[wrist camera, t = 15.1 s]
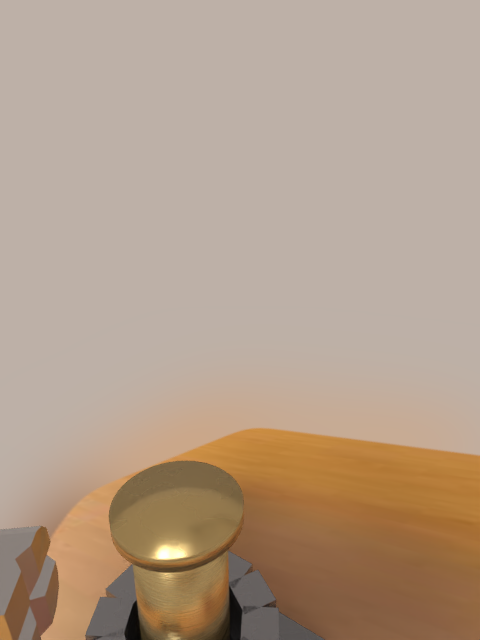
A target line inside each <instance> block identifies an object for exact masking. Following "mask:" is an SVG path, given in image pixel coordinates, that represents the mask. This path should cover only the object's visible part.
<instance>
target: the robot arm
mask: <svg viewBox="0 0 480 640" xmlns="http://www.w3.org/2000/svg"><path fill="white" fill-rule="evenodd" d="M49 546H50V539H49V535H48V532H47V529H46V527H43V526H36V527H24V528H12V529H1V530H0V640H41V637H40V636H41V635H42V634H43V633H44V632H45V631H46V630H47V628H48V627H49V626H50V625H51V624H52V622H53V618H54V614H55V611H56V607H57V599H58V589H59V581H58V570H57V566H56V562H55V561H54V560H53V559H51V558H50V557H49V556H47V552H48V549H49Z"/></svg>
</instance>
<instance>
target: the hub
mask: <svg viewBox="0 0 480 640" xmlns="http://www.w3.org/2000/svg"><path fill="white" fill-rule="evenodd" d="M228 565H229V613H230V640H325V639H323V638H321V637H320V636H318V635H316V634H315V633H313V632H311V631H310V630H308V629H306V628H305V627H303V626H301V625H300V624H298V623H296V622H295V621H293V620H291V619H290V618H288V617H287V616H285V615H283V614H282V613H280V612H279V608H276V598H275V597H274V595H273V594H272V592H271V590H270V589H269V587H268V585H267V584H266V582H265V580H264V579H263V577H262V575H261V574H260V572H259V571H258V570H256V571H254V572H252V564H251V563H249V562H247V561H246V560H244V559H242V558H240V557H238V556H237V555H235V554H233V553H231V552H229V551H228ZM106 595H107V597H100V599H99V602H98V604H97V607H96V609H95V612H94V614H93V617H92V619H91V622H90V624H89V627H88V629H87V632H86V635H85V636H86V640H141V632H140V623H139V615H138V606H137V598H136V589H135V581H134V572H133V564H132V565H131V566H130V567H129V568H128V569H127V570H125V571H124V572H123V573H122V574H121V575H120V576H119V577H118V578H117V579H116V580H115V581H114V582H113V583H112V584H111V585H110V586H109V587H108V588H106Z"/></svg>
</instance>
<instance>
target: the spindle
mask: <svg viewBox="0 0 480 640" xmlns="http://www.w3.org/2000/svg"><path fill="white" fill-rule="evenodd" d="M243 520H244V500H243V494H242V491H241V489H240V487H239V485H238V483H237V482H236V481H235V479H234V478H233V477H232V476H231V475H229V474H228V473H227V472H225V471H224V470H222V469H220V468H218V467H216V466H213V465H210V464H207V463H202V462H196V461H175V462H168V463H164V464H160V465H157V466H153V467H151V468H148V469H146V470H144V471H142V472H140V473H139V474H137V475H135V476H134V477H132V478H131V479H130V480H128V481H127V482H126V483H125V484H124V485H123V486H122V487H121V488H120V490H119V491H118V492H117V494H116V495H115V497H114V499H113V501H112V503H111V506H110V510H109V522H110V530H111V537H112V540H113V543H114V545H115V547H116V549H117V550H118V552H119V553H120V554H121V555H122V556H123V557H124V558H125V559H126V560H127V561H129V562H130V563H132V564H133V572H134V581H135V589H136V598H137V606H138V615H139V623H140V632H141V640H230V613H229V565H228V549H229V548H230V547H231V546H232V545H233V543H234V542H235V541H236V539H237V538H238V536H239V534H240V531H241V529H242V525H243Z"/></svg>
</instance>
